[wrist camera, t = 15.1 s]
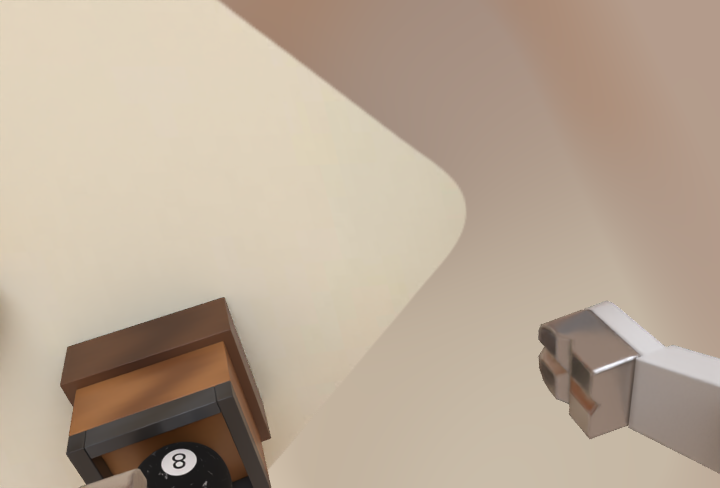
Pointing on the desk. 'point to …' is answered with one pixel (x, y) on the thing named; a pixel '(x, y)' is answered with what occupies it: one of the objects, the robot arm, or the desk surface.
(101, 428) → the brown wooden box
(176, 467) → the billiard ball
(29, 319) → the desk surface
